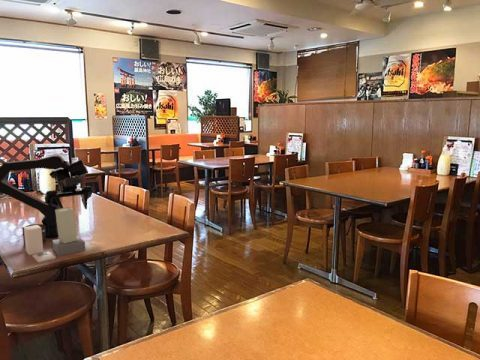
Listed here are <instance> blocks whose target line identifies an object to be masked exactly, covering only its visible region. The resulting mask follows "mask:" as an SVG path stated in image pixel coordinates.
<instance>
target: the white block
mask: <svg viewBox="0 0 480 360" xmlns="http://www.w3.org/2000/svg"><path fill="white" fill-rule="evenodd" d="M27 226H28V225H27ZM23 227H24V235H25V244H24V245H25V252H26V253H27V254H28V255H29V256H32V255H35V254H40V253H44V243H43V242H42V230H41V227H40V226H38V225H34V226H28V227H25V226H23Z"/></svg>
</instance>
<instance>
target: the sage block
mask: <svg viewBox="0 0 480 360" xmlns="http://www.w3.org/2000/svg"><path fill="white" fill-rule="evenodd" d="M74 212H75V211H74V208H72V207H70V206H69V207H63V208H61V209H56V210H55V213H56V221H57V228H58V236H57V237H58V239H59V241H60V242H62V243H64V244H65V243H69V242H73V241H76V240H77V236H78V235H77V229H76V228H77V227H76V219H75V213H74Z"/></svg>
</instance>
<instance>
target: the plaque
mask: <svg viewBox="0 0 480 360" xmlns="http://www.w3.org/2000/svg"><path fill="white" fill-rule="evenodd" d="M31 256H32V258H33V259H34V260H35V261H36V262H37V263H38V264H39V263H43V262H47V261H50V260H51V261H52V260H56V256H55V255H54V254H53V253H52V252H50V251H43V252H42V253H37V254H32V255H31Z"/></svg>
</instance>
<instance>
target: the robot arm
mask: <svg viewBox="0 0 480 360" xmlns="http://www.w3.org/2000/svg"><path fill="white" fill-rule="evenodd" d="M34 169H35V170H36V169H43V170H44V169H45V170H52V171H51V172H50V173H49V176H50V177H51V178H52V179H56V182H57V185H58V190H60V192H58V191H57V190H56V189H55V190H47V191H45V196H44V201H43V200H42V199H39V198H38V197H35V196H34V195H32V194H29V193H27V192H25V191H23V190H22V189H19V188H18V187H15V186H14V185H12V184H11V183H10V182H9V181H7V180H6V179H5V178H7V176H8V175H9V173H10V172H13V171H14V172H16V171H25V170H34ZM87 174H89V170H88V168H87V165H85V163H84V161H83V159H79V160H77V161H75V162H72V163H70V162H68V161H66V160H64V158H63V157H62V156H61V155H59V154H53V155H49V156H45V157H43V158H39V159H38V158H36V159H27V160H15V161H5V162H3V163H2V164H1V166H0V194H3V195H6V196H9V197H10V198H12V199H15V200H17V201H18V202H21V203H23V204H26V205H27V206H29V207H31V208H33V209H35V210H37V211H38V212H39V213H40V214H42V215H43V217H42V220H41V223H42V224H44V229H45V239H51V238H56V237H59V236H58V228H57V220H56V213H55V210H56V209H61V208H64V206H63V204H62V201H61V198H68V197H76V196H80V198H81V202H82V205H83V207H84V209H85V210H87V209H88V200H89V198H91V197H92V195H93V192H94V189H93V188H94V187H92V186H91V185H87V186H82V187H81V189H80V190H77V189H78V185H79V184H82V182H83V180H82V176H85V175H87Z"/></svg>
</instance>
